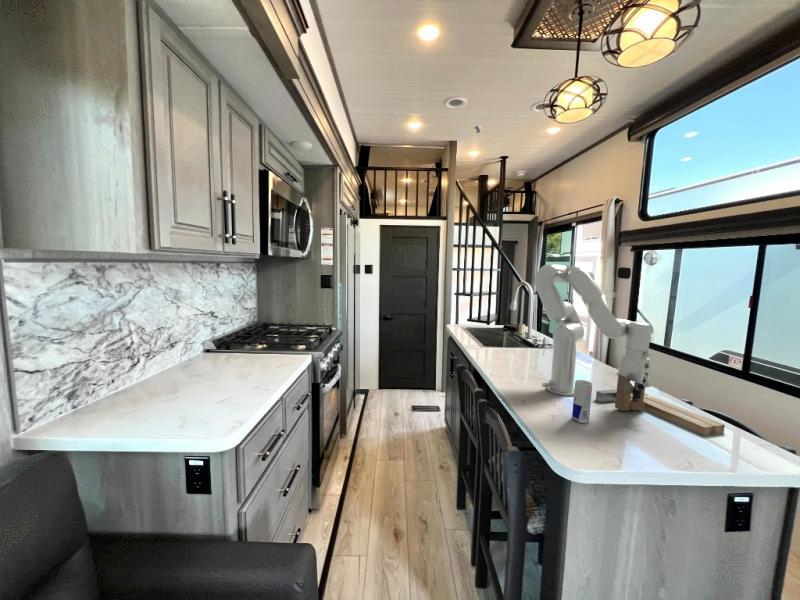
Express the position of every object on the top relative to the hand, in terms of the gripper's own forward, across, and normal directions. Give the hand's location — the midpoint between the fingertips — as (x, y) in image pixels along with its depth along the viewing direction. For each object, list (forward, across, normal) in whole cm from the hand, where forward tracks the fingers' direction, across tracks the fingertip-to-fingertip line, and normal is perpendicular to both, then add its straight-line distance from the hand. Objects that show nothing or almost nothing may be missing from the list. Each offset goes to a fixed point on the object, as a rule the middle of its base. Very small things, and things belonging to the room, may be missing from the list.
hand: (630, 396), depth 132 cm
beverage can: (+6, -4, +28) cm, 29 cm away
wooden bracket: (+5, 0, 0) cm, 5 cm away
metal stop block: (+6, +10, 0) cm, 12 cm away
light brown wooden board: (+6, -7, -12) cm, 15 cm away
